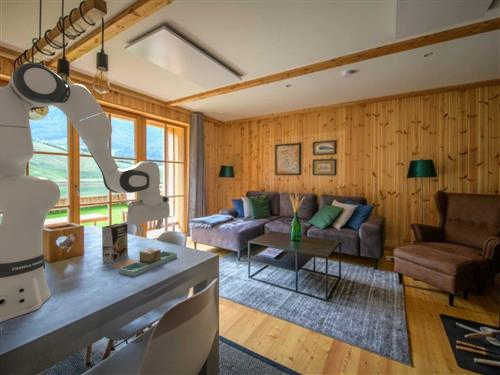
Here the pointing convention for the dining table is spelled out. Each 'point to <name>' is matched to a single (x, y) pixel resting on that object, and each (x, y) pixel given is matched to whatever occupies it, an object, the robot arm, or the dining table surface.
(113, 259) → the coffee box
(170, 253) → the tray far
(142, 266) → the tray near
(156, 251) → the letter cube
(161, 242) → the dining table surface
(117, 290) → the dining table surface
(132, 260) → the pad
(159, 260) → the tray middle
